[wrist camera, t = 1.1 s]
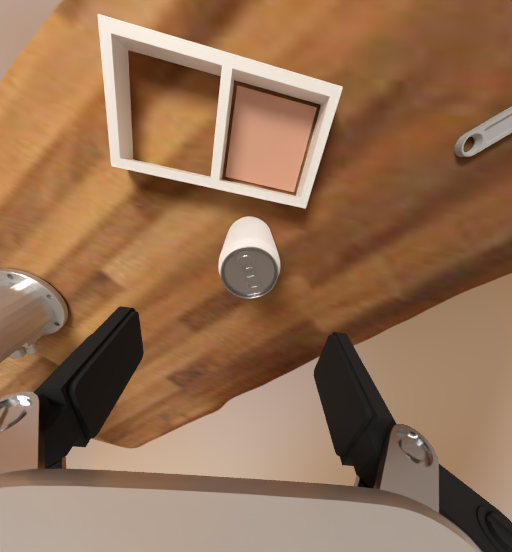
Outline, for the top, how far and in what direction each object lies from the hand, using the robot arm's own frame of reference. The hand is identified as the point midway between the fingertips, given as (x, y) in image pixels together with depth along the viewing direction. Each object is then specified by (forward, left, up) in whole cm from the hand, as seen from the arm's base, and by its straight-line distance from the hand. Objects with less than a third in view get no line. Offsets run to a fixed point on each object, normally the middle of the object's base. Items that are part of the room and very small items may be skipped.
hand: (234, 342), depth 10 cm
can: (-1, -1, -22) cm, 22 cm away
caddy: (+11, +5, -22) cm, 25 cm away
